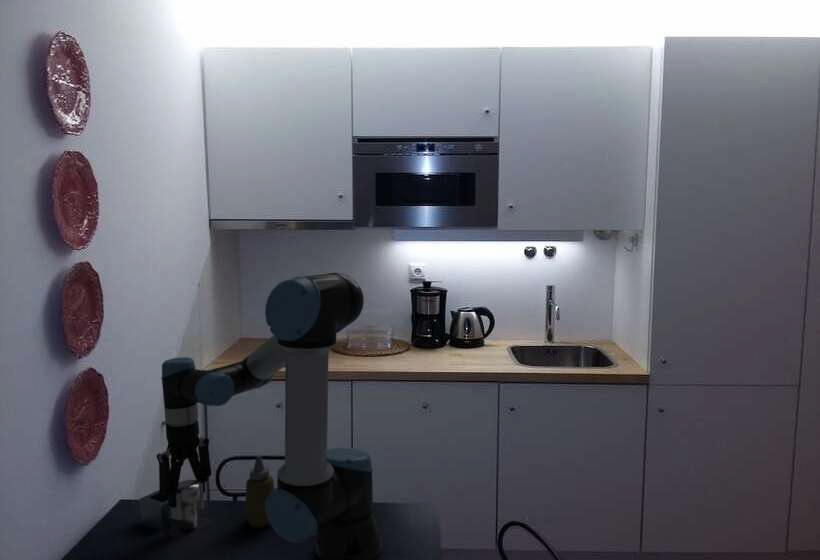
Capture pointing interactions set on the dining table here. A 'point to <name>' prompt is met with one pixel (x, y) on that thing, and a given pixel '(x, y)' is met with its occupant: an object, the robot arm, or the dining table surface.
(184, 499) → the dark grey round knob
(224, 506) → the dining table surface
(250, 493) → the squeeze bottle
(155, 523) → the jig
